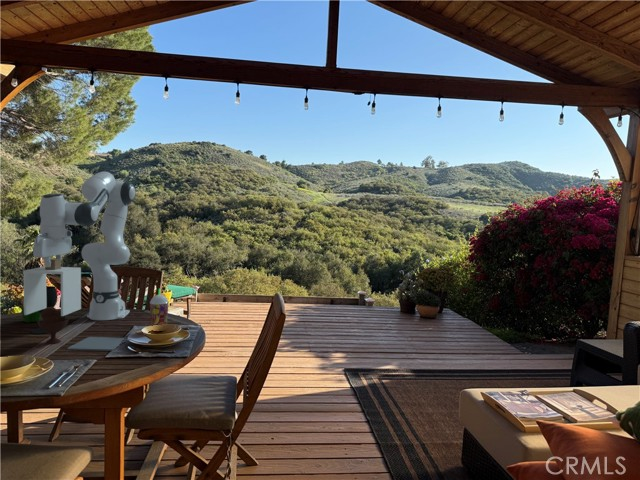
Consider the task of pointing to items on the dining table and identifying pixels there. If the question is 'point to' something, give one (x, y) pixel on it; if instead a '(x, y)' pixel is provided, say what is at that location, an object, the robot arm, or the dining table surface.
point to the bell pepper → (31, 316)
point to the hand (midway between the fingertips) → (53, 266)
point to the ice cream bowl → (52, 323)
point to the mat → (97, 344)
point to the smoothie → (159, 309)
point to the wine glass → (51, 302)
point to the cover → (37, 288)
